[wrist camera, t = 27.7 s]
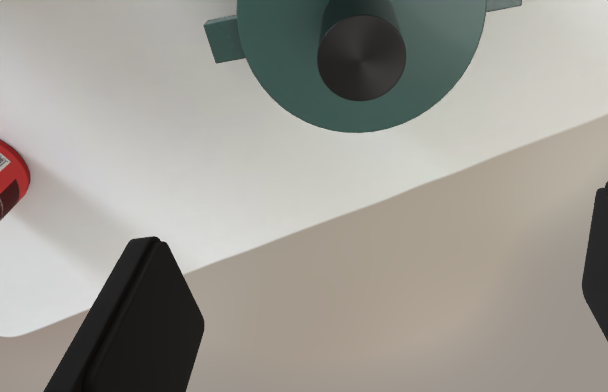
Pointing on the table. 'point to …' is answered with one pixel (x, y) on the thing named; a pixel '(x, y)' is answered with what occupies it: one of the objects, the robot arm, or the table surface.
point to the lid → (359, 56)
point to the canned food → (11, 178)
